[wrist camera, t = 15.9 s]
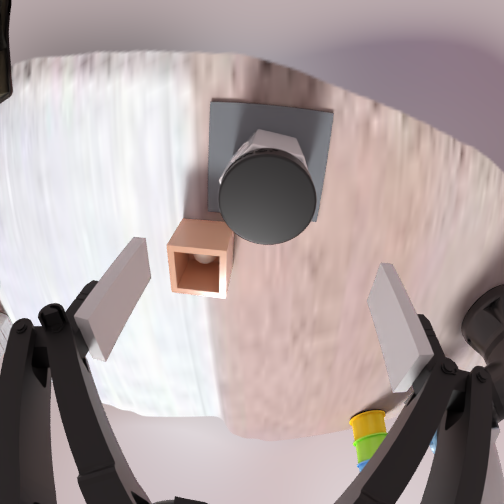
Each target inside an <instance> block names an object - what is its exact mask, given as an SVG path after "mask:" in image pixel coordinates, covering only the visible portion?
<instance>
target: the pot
mask: <svg viewBox="0 0 504 504" xmlns="http://www.w3.org/2000/svg"><path fill="white" fill-rule="evenodd" d="M233 247H234V232H233V231H232V230H231V229H230V228H229V227H228V225H227V224H226V223H225V222H220V221H209V220H197V219H184V218H183V219H182V221H181V222H180V224H179V226H178V227H177V229H176V231H175V232H174V234H173V236H172V237H171V239H170V241H169V242H168V244H167V253H168V263H169V272H170V281H171V289H172V292H176V293H183V294H191V295H199V296H208V297H216V298H225V299H226V295H227V290H228V286H229V281H230V277H231V272H232V267H233ZM193 254H202V255H212V256H216V258H215V259H214V260H213V261H212V262H211V263H208V264H203V263H200V262H198V261H197V260H196V259H195V257H194V255H193Z"/></svg>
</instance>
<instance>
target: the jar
mask: <svg viewBox="0 0 504 504" xmlns="http://www.w3.org/2000/svg"><path fill="white" fill-rule="evenodd" d="M219 183H220V187H219V193H218V204H219V209H220V213H221V215H222V217H223V219H224V221H225V223H226V224H227V225H228V227H229V228H230V229H231V230H232V231H233V232H234V233H236V234H237V235H238V236H240V237H241V238H243V239H245V240H247V241H250V242H253V243H257V244H263V245H273V244H279V243H283V242H286V241H289V240H291V239H293V238H295V237H296V236H298V235H299V234H300V233H302V232H303V231H304V230H305V229H306V227H307V226H308V225H309V223H310V222H311V220H312V218H313V216H314V213H315V210H316V204H317V196H316V190H315V186H314V183H313V181H312V178H311V175H310V173H309V171H308V168H307V164H306V161H305V157H304V155H303V152H302V150H301V147H300V145H299V143H298V140H297V138H294V137H290V136H286V135H282V134H278V133H274V132H270V131H265V130H261V129H258V130H256V131H255V132H254V133H253V135H252V136H251V137H250V138H249V139H248V140H247V141H246V142H245V143H244V144H243V145H242V146H241V147H240V148H239V149H238V150H237V151H236V153H235V154H234V155H233V156H232V158H231V159H230V161H229V163H228V165H227V166H226V168H225V170H224V172H223V173H222V175H221V177H220V179H219Z"/></svg>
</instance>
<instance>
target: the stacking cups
mask: <svg viewBox="0 0 504 504" xmlns="http://www.w3.org/2000/svg"><path fill="white" fill-rule="evenodd" d="M384 417H385V412H384V411H382V410H372V411H367V412H363V413H361V414H358V415H356V416H354V417H353V418H352V419H351V420H350V422H349V424H350V425H351V426H352V427H353V433H354V439H355V441H354V443H353V445H354V446H356V450H357V457H358V465H357V467H358V468H359V470H360V472H361V471H362V469H363V468H364V467H365V465H366V464H367V463H368V461H369V460H370V459H371V457H372V456H373V454H374V453H375V452H376V450H377V449H378V447H379V446H380V444H381V443H382V441H383V440H384V438H385V437H386V435H387V434H388V433H386V427H385V422H384Z"/></svg>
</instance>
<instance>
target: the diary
mask: <svg viewBox="0 0 504 504" xmlns="http://www.w3.org/2000/svg"><path fill="white" fill-rule="evenodd" d="M11 5H12V0H0V103H2V102H3V101H5V100H6V99H8V98H9V97H10V96H11V95H12V80H11V67H10V66H11V59H10V48H9V22H10V13H11Z"/></svg>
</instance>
